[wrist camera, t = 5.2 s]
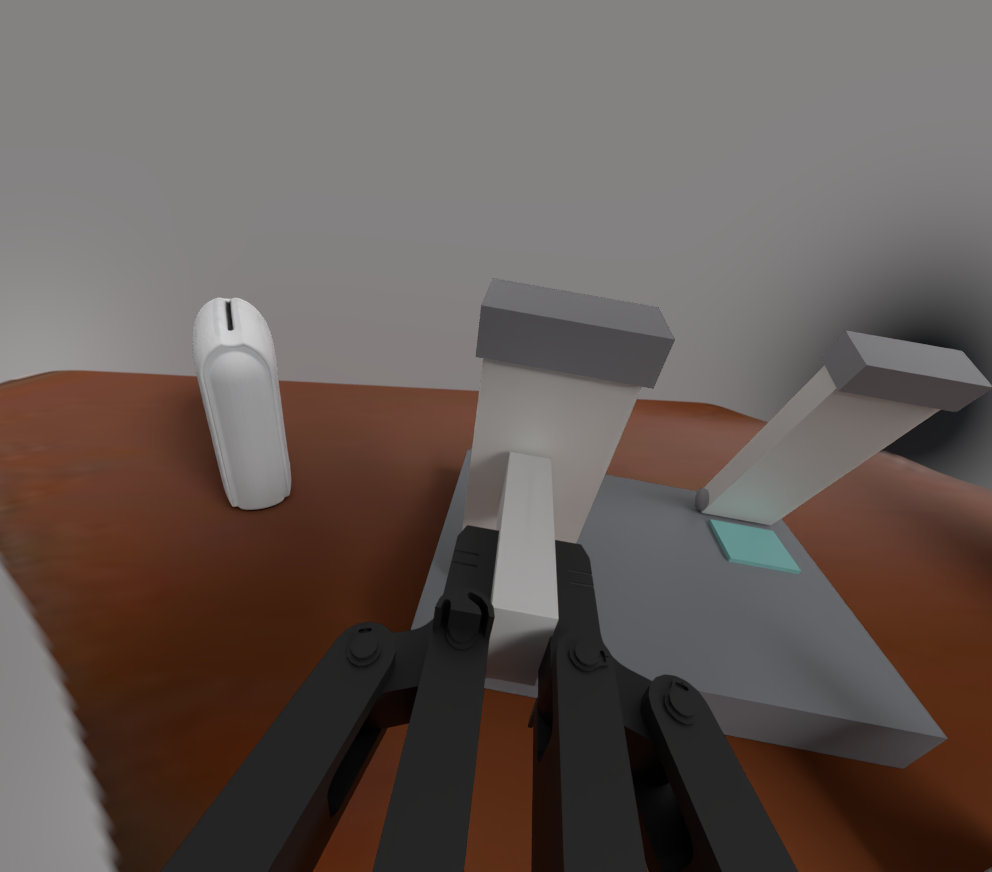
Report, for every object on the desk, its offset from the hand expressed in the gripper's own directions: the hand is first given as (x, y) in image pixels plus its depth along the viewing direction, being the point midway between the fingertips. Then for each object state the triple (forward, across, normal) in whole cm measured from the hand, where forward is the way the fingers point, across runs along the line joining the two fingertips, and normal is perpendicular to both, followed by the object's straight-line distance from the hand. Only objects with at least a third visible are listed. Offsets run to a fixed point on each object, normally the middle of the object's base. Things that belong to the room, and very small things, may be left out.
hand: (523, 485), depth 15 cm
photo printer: (+12, -19, -12) cm, 25 cm away
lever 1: (+3, 0, -8) cm, 9 cm away
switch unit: (+7, +8, -11) cm, 15 cm away
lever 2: (+12, +16, -8) cm, 22 cm away
